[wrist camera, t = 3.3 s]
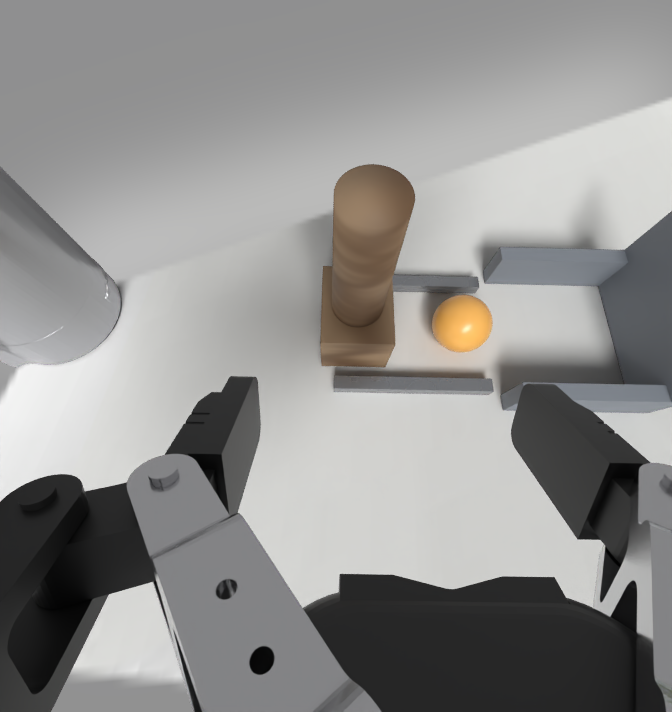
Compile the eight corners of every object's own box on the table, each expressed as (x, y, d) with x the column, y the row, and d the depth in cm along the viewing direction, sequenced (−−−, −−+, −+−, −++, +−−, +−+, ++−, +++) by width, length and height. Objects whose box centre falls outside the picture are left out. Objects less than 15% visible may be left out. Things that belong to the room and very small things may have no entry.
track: (333, 391, 29) (334, 388, 28) (335, 279, 32) (336, 273, 31) (488, 394, 29) (493, 391, 28) (473, 283, 32) (477, 276, 31)
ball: (446, 369, 30) (465, 349, 25) (415, 325, 31) (429, 299, 27) (490, 345, 30) (515, 321, 26) (458, 303, 32) (478, 274, 28)
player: (321, 365, 29) (315, 250, 15) (323, 298, 31) (320, 143, 17) (385, 367, 29) (436, 253, 15) (382, 299, 31) (425, 146, 18)
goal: (503, 410, 28) (565, 380, 21) (483, 271, 33) (528, 205, 25) (647, 413, 29) (760, 384, 21) (608, 274, 33) (690, 209, 25)
